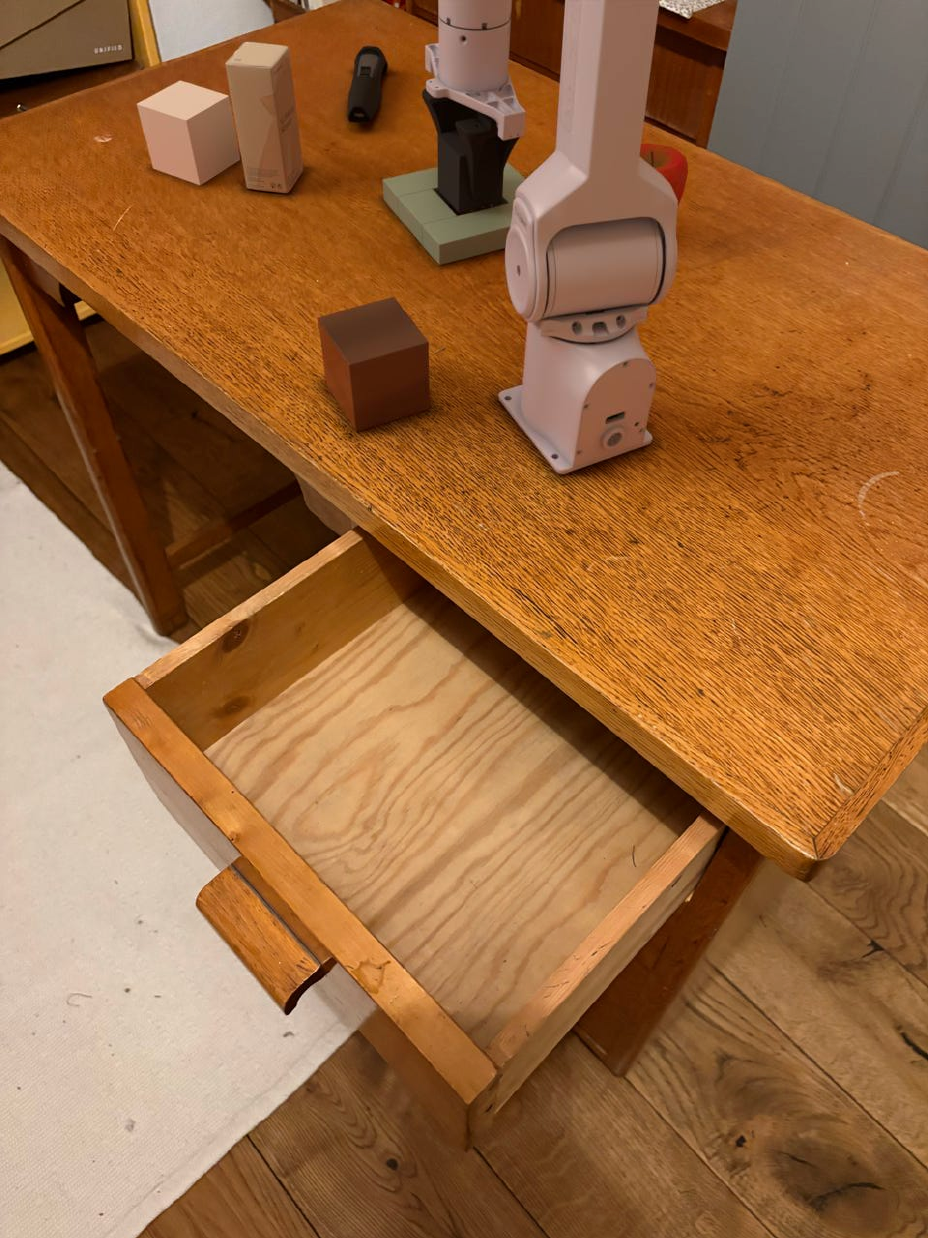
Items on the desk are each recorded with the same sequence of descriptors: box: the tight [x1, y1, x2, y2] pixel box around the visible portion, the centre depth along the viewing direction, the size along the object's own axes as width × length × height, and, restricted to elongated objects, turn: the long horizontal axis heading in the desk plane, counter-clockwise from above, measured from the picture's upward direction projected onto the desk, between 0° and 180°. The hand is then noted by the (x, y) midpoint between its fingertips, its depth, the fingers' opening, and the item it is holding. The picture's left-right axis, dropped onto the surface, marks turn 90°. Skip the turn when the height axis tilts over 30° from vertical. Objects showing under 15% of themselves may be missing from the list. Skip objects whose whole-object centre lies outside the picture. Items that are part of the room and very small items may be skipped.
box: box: [225, 41, 304, 194], centre depth 83 cm, size 5×4×11 cm
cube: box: [317, 296, 431, 433], centre depth 66 cm, size 6×6×6 cm
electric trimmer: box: [346, 45, 389, 124], centre depth 97 cm, size 4×16×3 cm, turn 178°
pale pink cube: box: [136, 79, 241, 186], centre depth 87 cm, size 6×6×6 cm
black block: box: [436, 130, 504, 214], centre depth 81 cm, size 4×4×5 cm
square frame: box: [382, 161, 527, 266], centre depth 83 cm, size 12×12×2 cm
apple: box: [639, 143, 689, 206], centre depth 80 cm, size 6×6×8 cm
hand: (470, 186), depth 82 cm, fingers closed on black block, 4 cm apart
